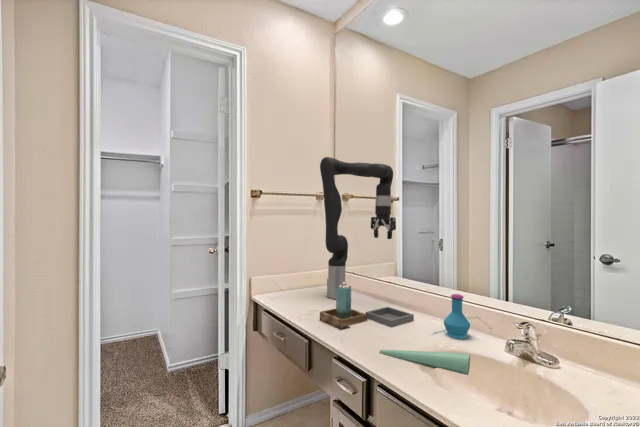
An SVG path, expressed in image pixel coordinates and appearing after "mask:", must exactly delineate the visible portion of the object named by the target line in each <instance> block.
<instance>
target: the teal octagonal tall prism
mask: <svg viewBox="0 0 640 427" xmlns="http://www.w3.org/2000/svg"><path fill="white" fill-rule="evenodd" d="M335 301H336V302H335V304H336V305H335V309H336V317H337V318H339V319H346V318H351V309H352V286H351V285H349V284H348V283H347V282H346V281H345V282H342V283H341V285H339V286H337V287H336V299H335Z"/></svg>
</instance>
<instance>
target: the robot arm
mask: <svg viewBox="0 0 640 427" xmlns="http://www.w3.org/2000/svg"><path fill="white" fill-rule="evenodd" d="M319 169H320V176H321V181H322V190H323V191H322V192H323V204H324V205H323V206H324V215H325V217H324V218H325V248H326V249H327V251H328V252H329V253H331V254H332V255H331V258H329V259H328V265H327V266H328V270H327V272H328V273H327V278H326V297H327V298H329V299H330V300H336V287H337V286H339V285H341V283H342V282H346V269H347V268H346V267H347V266H346V262H347V261H348V252H349V249H348V248H349V243H348V239H347V238H346V236H345V235H342V234H341V235H340V234H339V232H338V229H339V228H338V225H339V221H340V218H341V216H342V212H343V208H342V198H341V194H340V192H339V190H338V188H337V185H336V182H335V176H339V175H348V176H349V175H352V176H355V177H363V178H376V179H379V182H378V184H376V186H375V207H374V212H375V215H376V216H371V218H370V230H373V237H374V238H375V239H378V238H379V229H380V227H385V228H386V230H387V235H386V236H387V237H386V238H387V240H391V239H392V238H393V231H396V230H397V225H396V224H397V221H396V220H397V219H396V217H395V216H393V217H392V216H391V214H392V198H391V195H392V194H391V193H392V189H391V187H392V183H393V179H394V170H393V168H392V167H391V166H390V165H388V164H384V163H370V162H346V161H343V160H339V159H336V158H333V157H330V156H329V157H328V156H325V157H323V158H322V159H321V160H320V164H319Z"/></svg>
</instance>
